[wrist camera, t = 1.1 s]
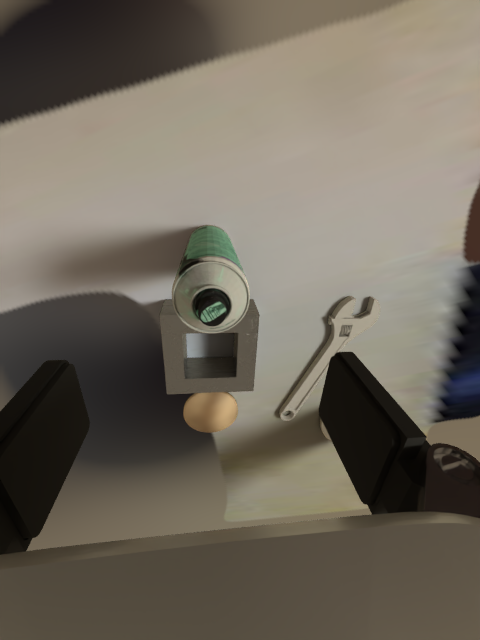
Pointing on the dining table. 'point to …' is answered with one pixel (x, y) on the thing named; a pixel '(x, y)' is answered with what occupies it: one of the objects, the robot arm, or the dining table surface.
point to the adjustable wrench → (331, 349)
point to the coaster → (210, 411)
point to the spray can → (210, 283)
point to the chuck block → (213, 370)
